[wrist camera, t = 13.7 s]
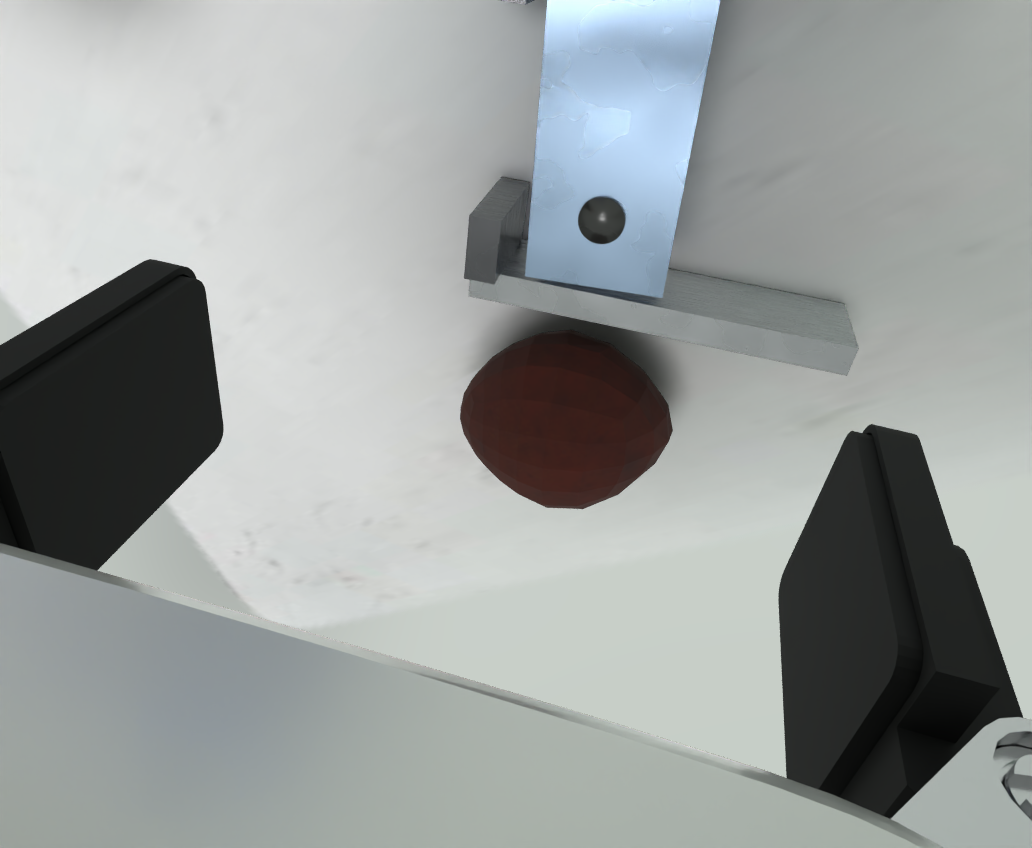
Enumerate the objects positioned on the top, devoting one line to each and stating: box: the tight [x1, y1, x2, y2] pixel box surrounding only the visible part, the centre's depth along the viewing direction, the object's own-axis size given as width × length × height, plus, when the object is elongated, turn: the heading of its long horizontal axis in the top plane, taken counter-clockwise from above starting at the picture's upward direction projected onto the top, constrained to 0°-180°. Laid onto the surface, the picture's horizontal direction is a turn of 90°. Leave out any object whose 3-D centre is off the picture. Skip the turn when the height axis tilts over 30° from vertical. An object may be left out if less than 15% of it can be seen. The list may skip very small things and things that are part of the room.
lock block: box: [525, 0, 720, 298], centre depth 27 cm, size 5×10×6 cm, turn 176°
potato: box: [460, 330, 673, 509], centre depth 33 cm, size 8×9×8 cm
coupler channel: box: [464, 0, 859, 376], centre depth 27 cm, size 15×14×5 cm
